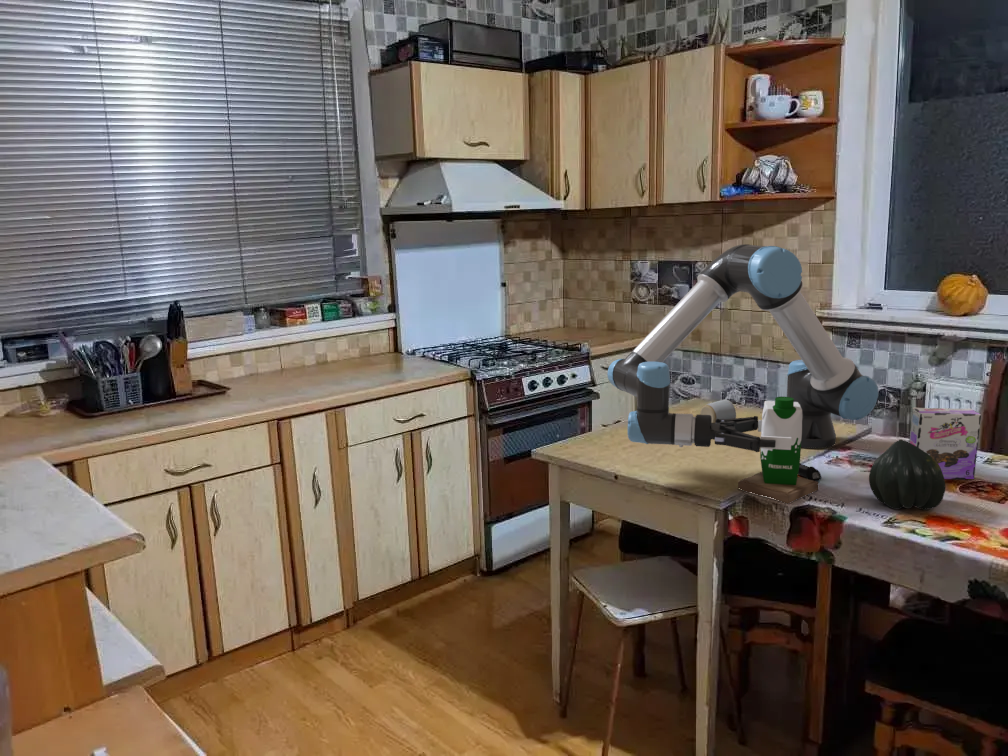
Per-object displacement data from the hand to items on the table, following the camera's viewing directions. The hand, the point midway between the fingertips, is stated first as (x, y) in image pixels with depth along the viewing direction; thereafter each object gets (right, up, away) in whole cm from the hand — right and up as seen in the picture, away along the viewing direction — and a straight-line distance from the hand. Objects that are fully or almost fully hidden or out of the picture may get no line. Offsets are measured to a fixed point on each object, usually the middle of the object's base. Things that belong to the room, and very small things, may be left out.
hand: (789, 435), depth 191 cm
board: (-1, -13, +4) cm, 14 cm away
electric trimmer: (+7, -11, +16) cm, 20 cm away
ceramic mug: (-1, -2, +56) cm, 56 cm away
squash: (+23, -15, -7) cm, 28 cm away
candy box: (+40, -11, +11) cm, 43 cm away
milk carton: (-1, -11, +4) cm, 12 cm away
